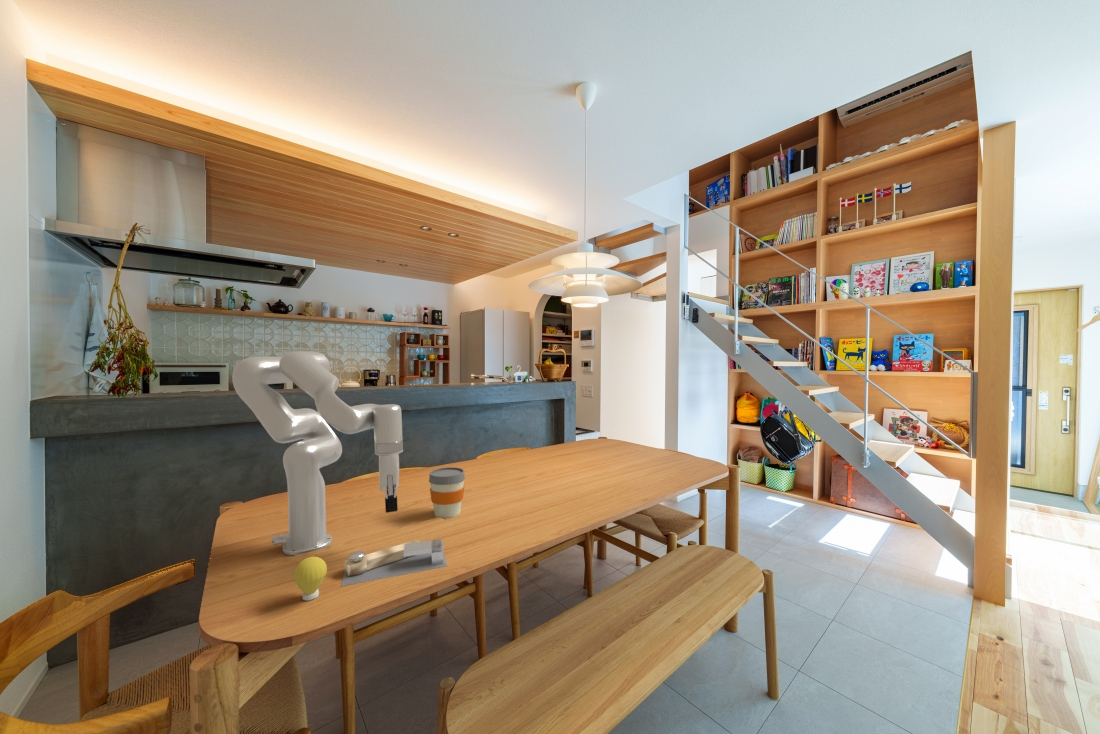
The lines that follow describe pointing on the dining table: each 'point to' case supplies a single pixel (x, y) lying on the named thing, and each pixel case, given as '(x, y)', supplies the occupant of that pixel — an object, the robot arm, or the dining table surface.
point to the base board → (395, 569)
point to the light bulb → (310, 576)
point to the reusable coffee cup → (447, 491)
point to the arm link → (376, 559)
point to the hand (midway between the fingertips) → (391, 510)
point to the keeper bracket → (426, 549)
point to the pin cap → (356, 556)
